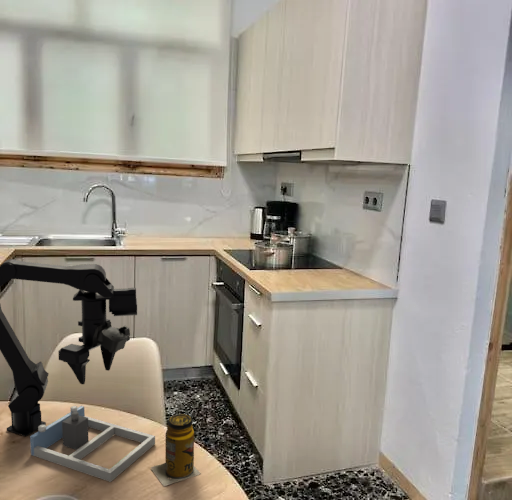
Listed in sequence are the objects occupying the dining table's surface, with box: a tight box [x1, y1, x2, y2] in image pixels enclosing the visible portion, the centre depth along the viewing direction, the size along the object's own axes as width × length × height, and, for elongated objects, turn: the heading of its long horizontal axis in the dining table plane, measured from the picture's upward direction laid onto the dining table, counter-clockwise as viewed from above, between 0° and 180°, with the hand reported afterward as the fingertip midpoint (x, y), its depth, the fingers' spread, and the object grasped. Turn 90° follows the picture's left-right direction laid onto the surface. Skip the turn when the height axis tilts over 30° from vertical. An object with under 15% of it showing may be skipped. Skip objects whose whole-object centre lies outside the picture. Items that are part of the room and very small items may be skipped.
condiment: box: [150, 413, 201, 487], centre depth 108 cm, size 7×8×12 cm
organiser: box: [29, 405, 156, 483], centre depth 115 cm, size 22×16×6 cm
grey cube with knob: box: [62, 412, 89, 451], centre depth 117 cm, size 4×4×8 cm
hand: (95, 376), depth 126 cm, fingers open, 9 cm apart
